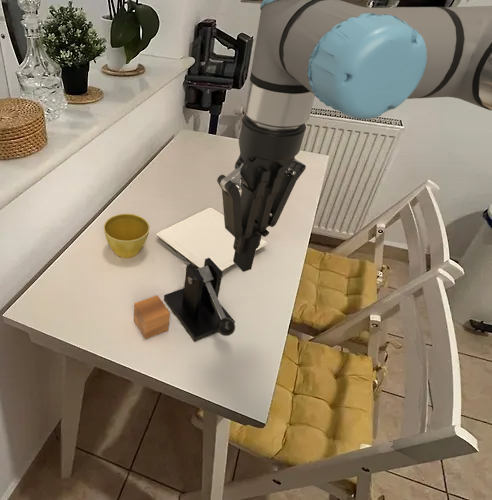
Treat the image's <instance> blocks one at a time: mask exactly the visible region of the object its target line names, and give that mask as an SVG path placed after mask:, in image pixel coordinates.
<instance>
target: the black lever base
mask: <svg viewBox="0 0 492 500" xmlns="http://www.w3.org/2000/svg"><path fill="white" fill-rule="evenodd" d="M207 265H208V267H209V269H210V271H211V274H212V276H213V278H214V279H213V280H212V281H211V285H212V287H213V289H214V291H215V294H216V296H217V298H218V299H219V294H220V289H221V283H222V277H223V274H224V273H223V272H224V271H221V270H220V269H219V267H218V266H217V265H216V264H215V263H214V262H213V261H212V260H211V259H210V258H207V259H205V263H204V266H207ZM203 281H204V278H203V277H202V276H201V275H200V274H199V272H198V271H197V268H196V267H194V264H193V263H189V264H187V265H186V268H185V277H184V284H183V288H180V289H177V290H174V291H172V292H169V293H166V294H164V295H163V300H164V302H165V303H166V304H167V306H168V307H169V308H170V310H171V311H172V312H173V314H174V316H175V317H176V318H177V319H178V321H179V322H180V324H181V325H182V327H183V328H184V329H185V331H186V332H187V333H188V335H189V336H190V338H191V339H192V340H193V342H197V341H200V340H202V339H205V338H208V337H210V336H212V335H215V334H217V333H219V332H218V330H217V323H218V322H219V319H218V317H217V315H216V312H215V310H214V308H213V306H212V303H211V301H210V299H209V296H208V294H207V292H206V290H205V287H204V285H203ZM220 305H221V307H222V309H223V312H224V314H225V316H226V318H229V319H231V320H232V321H233V322H234V324H235V323H236V321H235V320H234V318H233V317H232V316H231V315H230V314H229V312H228V310H226V309H225V308H224V306H223V305H222V304H221V303H220ZM235 325H236V324H235Z"/></svg>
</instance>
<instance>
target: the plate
mask: <svg viewBox="0 0 492 500" xmlns="http://www.w3.org/2000/svg"><path fill="white" fill-rule="evenodd" d="M155 235H156V236H157V237H158V238H159V239H161V241H163V242H164V243H166V244H167V245H168V246H170V247H171V248H173V249H174V250H175V251H176V252H178V253H179V254H180V255H182V256H183V257H184V258H186V260H188V261H189V262H191V264H192V265H195V266H196V267H197V268H201V267H204V263H205V259H207V258H210V259H211V260H212V261H213V262H214V263H215V264H216V265H217V266H218V267H219V269H220V270H221V271H222V272H224V271H225V270H227V268H229V267H231V266H233V265H235V263H234V262H233V259H234V254H235V250H234V248H233V245H234V240H235V237H234V236H233V235H232V234H231V233H230V232H229V231H228V230H227V229H225V221H224V214H222V213H221V212H219V211H218V210H216V209H214V208H213V207H212V206H211V207H207V208H205V209H203V210H201V211H199V212H197V213H195V214H192V215H191V216H189V217H187V218H184V219H183V220H180V221H179V222H177V223H174V224H172V225H170V226H168V227H166V228H164V229H162V230H159V231H158V232H156V233H155ZM266 245H268V242H267V241H266V240H264V239H262V238H261V241H260V245H259V247H258V248H256V251H258V250H259V249H261V248H263V247H265V246H266Z"/></svg>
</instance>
